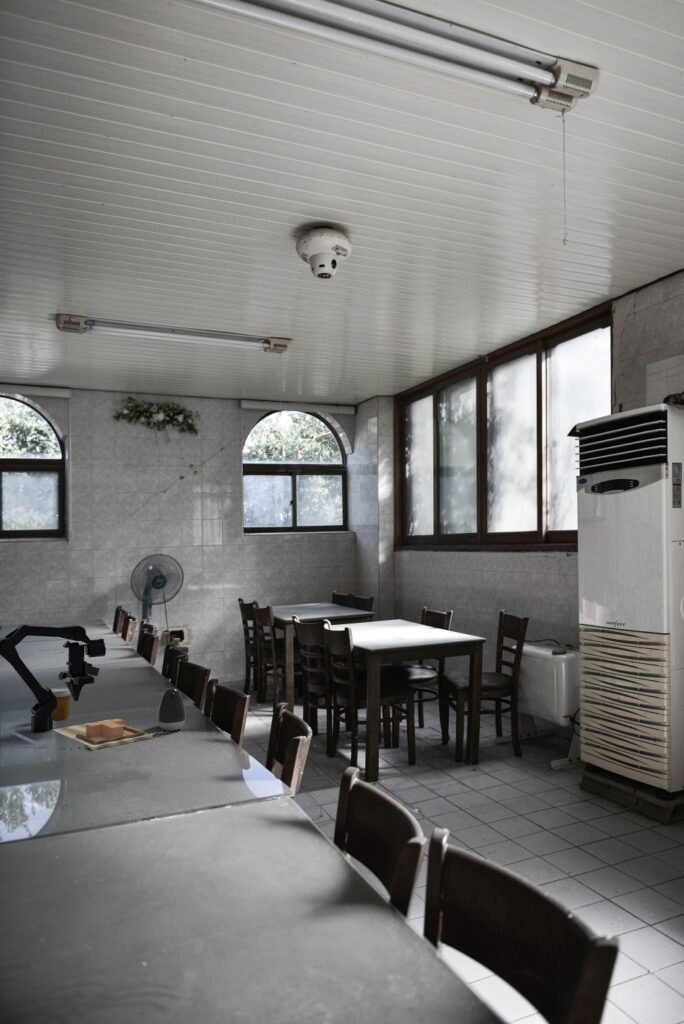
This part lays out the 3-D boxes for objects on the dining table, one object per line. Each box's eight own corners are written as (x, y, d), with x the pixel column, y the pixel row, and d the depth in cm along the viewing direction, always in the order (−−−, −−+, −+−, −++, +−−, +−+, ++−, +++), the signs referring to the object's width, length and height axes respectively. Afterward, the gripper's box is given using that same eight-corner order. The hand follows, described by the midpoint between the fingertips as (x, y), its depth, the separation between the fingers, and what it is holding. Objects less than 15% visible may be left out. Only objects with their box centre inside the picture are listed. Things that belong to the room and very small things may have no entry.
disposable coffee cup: (77, 717, 288) (77, 687, 288) (65, 723, 278) (66, 691, 279) (54, 717, 289) (54, 687, 289) (42, 723, 279) (42, 691, 280)
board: (92, 750, 240) (92, 744, 240) (51, 732, 264) (51, 727, 264) (152, 737, 255) (152, 732, 255) (108, 722, 279) (108, 717, 280)
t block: (101, 742, 246) (101, 730, 246) (85, 735, 255) (86, 724, 255) (133, 735, 255) (133, 723, 255) (117, 729, 263) (118, 718, 263)
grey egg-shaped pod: (157, 733, 260) (157, 691, 261) (157, 727, 270) (157, 686, 271) (186, 731, 263) (186, 689, 264) (185, 725, 273) (185, 684, 274)
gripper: (108, 658, 271) (107, 701, 270) (86, 654, 284) (86, 694, 283) (78, 662, 263) (78, 705, 262) (58, 657, 277) (57, 698, 276)
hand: (76, 701), depth 271 cm, fingers closed
